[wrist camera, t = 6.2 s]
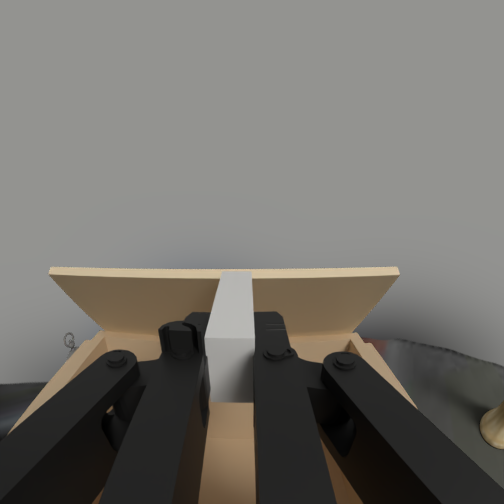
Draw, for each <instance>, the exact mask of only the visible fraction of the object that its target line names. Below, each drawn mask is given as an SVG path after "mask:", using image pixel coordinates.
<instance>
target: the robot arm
mask: <svg viewBox="0 0 504 504" xmlns="http://www.w3.org/2000/svg"><path fill="white" fill-rule="evenodd" d="M158 333H159V339H160V345H161V350H162V353H161V355H160V357H159V359H155V360H149V361H139V362H138V361H137V357H136V356H135V354H134V353H132V352H130V351H128V350H119V349H118V350H112V351H109V352H106V353H105V354H103V355H101V356H100V357H99V358H98V359H96V360H95V361H94V362H93V363H92V364H90V365H89V366H88V367H87V368H86V369H84V370H83V371H82V372H81V373H80V374H78V375H77V376H76V377H75V378H74V379H72V380H71V381H70V382H69V383H68V384H66V385H65V386H64V387H63V388H62V389H60V390H59V391H58V392H57V393H56V394H54V395H53V396H52V397H51V398H50V399H49V400H47V401H46V402H45V403H44V404H43V405H41V406H40V407H39V408H38V409H37V410H36V411H34V412H33V413H32V414H31V415H30V416H29V417H27V418H26V419H25V420H24V421H23V422H22V423H20V424H19V425H18V426H17V427H16V428H15V429H13V430H12V431H11V432H10V433H9V434H8V435H7V436H5V437H4V438H3V439H2V440H1V441H0V504H92V503H93V502H94V500H95V499H96V498H97V496H98V495H99V494H100V492H101V491H102V490H103V488H104V490H103V492H102V495H101V498H100V500H99V503H98V504H198V501H199V492H200V484H201V476H202V468H203V460H204V453H205V445H206V437H207V430H208V423H209V415H210V409H209V397H210V398H211V402H225V403H254V404H253V427H254V453H255V487H256V504H337V502H336V498H335V494H334V490H333V486H332V482H331V478H330V474H329V470H328V466H327V462H326V458H325V454H324V451H323V447H322V443H321V440H322V441H323V443H324V445H325V446H326V448H327V449H328V451H329V452H330V454H331V456H332V457H333V459H334V460H335V462H336V463H337V465H338V466H339V468H340V469H341V471H342V472H343V474H344V475H345V477H346V479H347V480H348V482H349V483H350V485H351V486H352V488H353V489H354V491H355V492H356V493H357V495H358V496H359V498H360V499H361V501H362V502H363V504H504V489H503V488H502V487H501V486H500V485H498V484H497V483H496V482H495V481H494V480H493V479H492V478H491V477H490V476H489V475H488V474H487V473H485V472H484V471H483V470H482V469H481V468H480V467H479V466H478V465H477V464H476V463H475V462H474V461H473V460H471V459H470V458H469V457H468V456H467V455H466V454H465V453H464V452H463V451H462V450H461V449H460V448H459V447H457V446H456V445H455V444H454V443H453V442H452V441H451V440H450V439H449V438H448V437H447V436H446V435H445V434H443V433H442V432H441V431H440V430H439V429H438V428H437V427H436V426H435V425H434V424H433V423H432V422H431V421H429V420H428V419H427V418H426V417H425V416H424V415H423V414H422V413H421V412H420V411H419V410H418V409H417V408H415V407H414V406H413V405H412V404H411V403H410V402H409V401H408V400H407V399H406V398H405V397H404V396H403V395H402V394H400V393H399V392H398V391H397V390H396V389H395V388H394V387H393V386H392V385H391V384H390V383H389V382H388V381H387V380H385V379H384V378H383V377H382V376H381V375H380V374H379V373H378V372H377V371H376V370H375V369H374V368H373V367H372V366H370V365H369V364H368V363H367V362H366V361H365V360H364V359H363V358H362V357H360V356H359V355H357V354H354V353H351V352H345V351H340V352H333V353H331V354H328V355H327V356H326V357H325V358H324V360H323V363H318V362H311V361H306V360H304V359H301V358H299V357H298V354H297V352H296V351H295V349H293V348H291V346H290V342H289V338H288V334H287V331H286V327H285V323H284V319H283V316H281V315H280V314H279V313H278V312H277V311H271V312H254V311H253V292H252V272H251V271H222V274H221V277H220V281H219V285H218V288H217V292H216V296H215V299H214V303H213V307H212V311H211V312H192V313H190V314H189V315H188V316H186V317H185V319H184V320H183V321H173V322H168V323H166V324H164V325H162V326H161V327H160V328H159V329H158ZM111 406H112V407H113V409H112V410H111V411H110V412H108V413H107V411H108V410H109V408H110V407H111ZM320 438H321V439H320Z"/></svg>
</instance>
